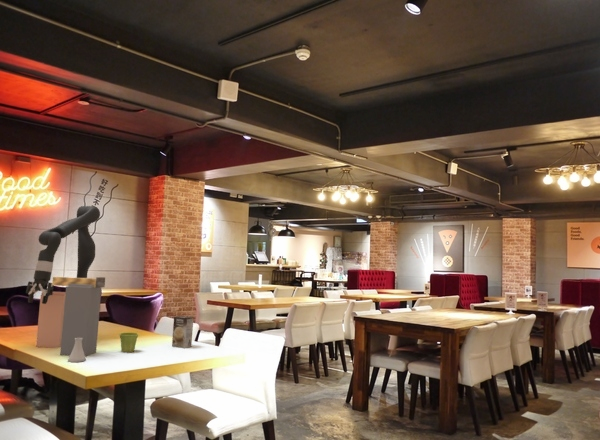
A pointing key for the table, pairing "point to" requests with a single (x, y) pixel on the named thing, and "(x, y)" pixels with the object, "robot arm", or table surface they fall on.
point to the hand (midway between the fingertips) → (37, 303)
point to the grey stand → (80, 318)
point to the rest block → (51, 321)
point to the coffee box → (182, 331)
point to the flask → (77, 352)
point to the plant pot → (128, 341)
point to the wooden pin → (79, 281)
